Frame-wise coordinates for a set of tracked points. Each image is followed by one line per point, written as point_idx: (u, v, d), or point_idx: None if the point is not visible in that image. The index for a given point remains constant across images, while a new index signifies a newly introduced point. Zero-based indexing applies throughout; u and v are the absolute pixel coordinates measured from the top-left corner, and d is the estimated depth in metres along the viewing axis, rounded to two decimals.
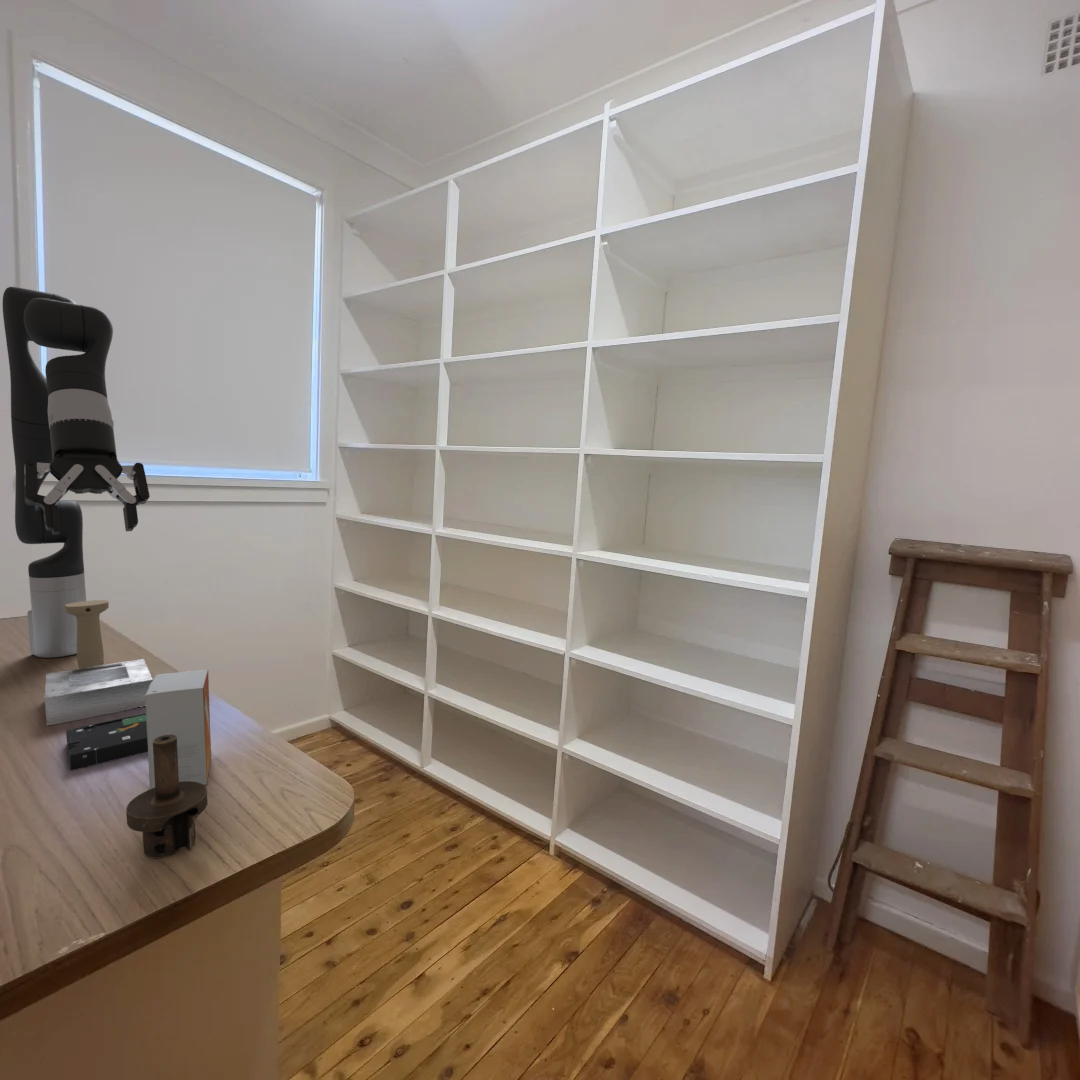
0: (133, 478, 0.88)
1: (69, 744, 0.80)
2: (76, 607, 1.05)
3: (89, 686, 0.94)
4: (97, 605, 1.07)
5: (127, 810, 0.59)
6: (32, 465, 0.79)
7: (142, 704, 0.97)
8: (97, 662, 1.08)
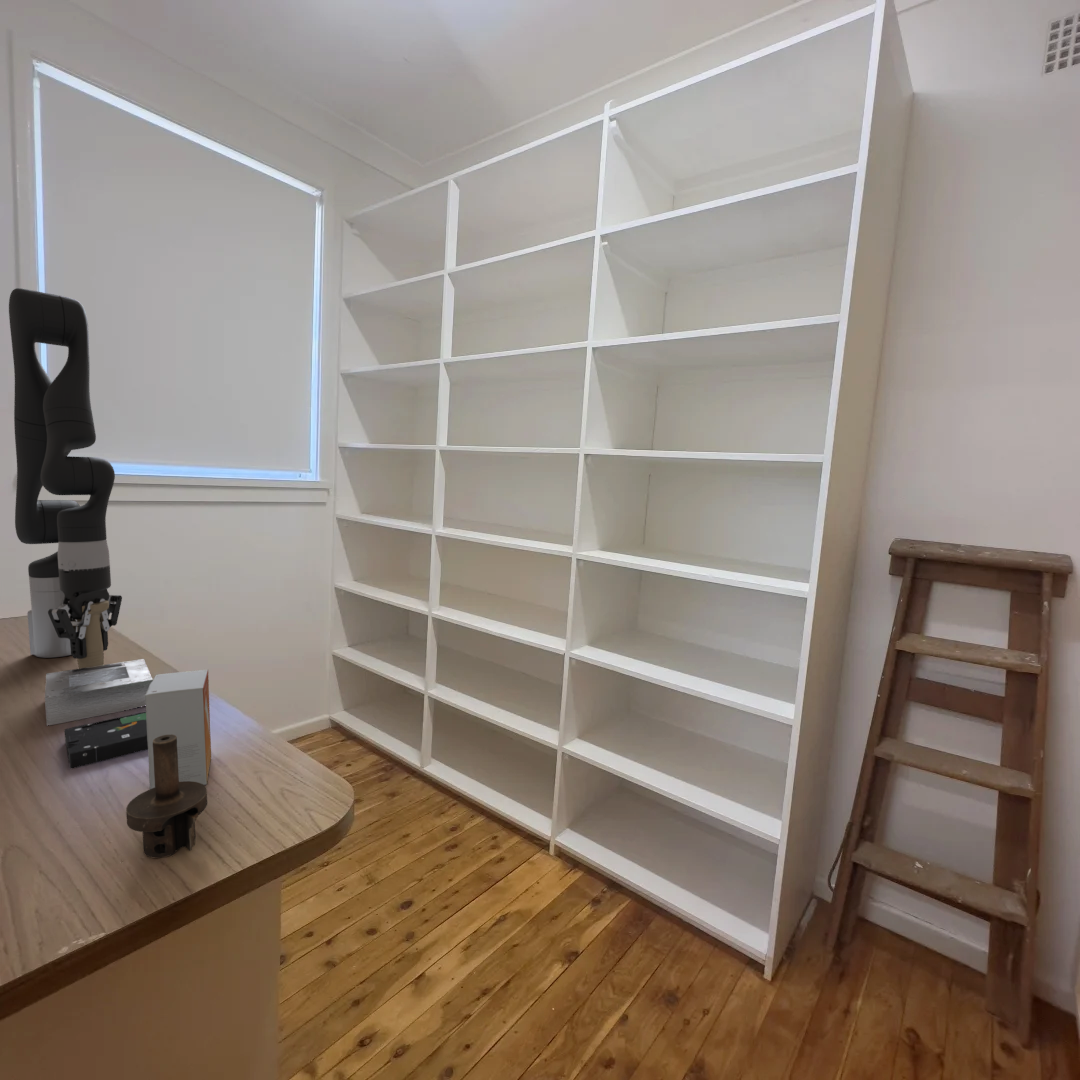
0: (109, 605, 1.12)
1: (68, 743, 0.80)
2: None
3: (89, 686, 0.94)
4: (97, 605, 1.07)
5: (127, 810, 0.59)
6: (65, 613, 1.02)
7: (142, 704, 0.97)
8: (97, 662, 1.08)
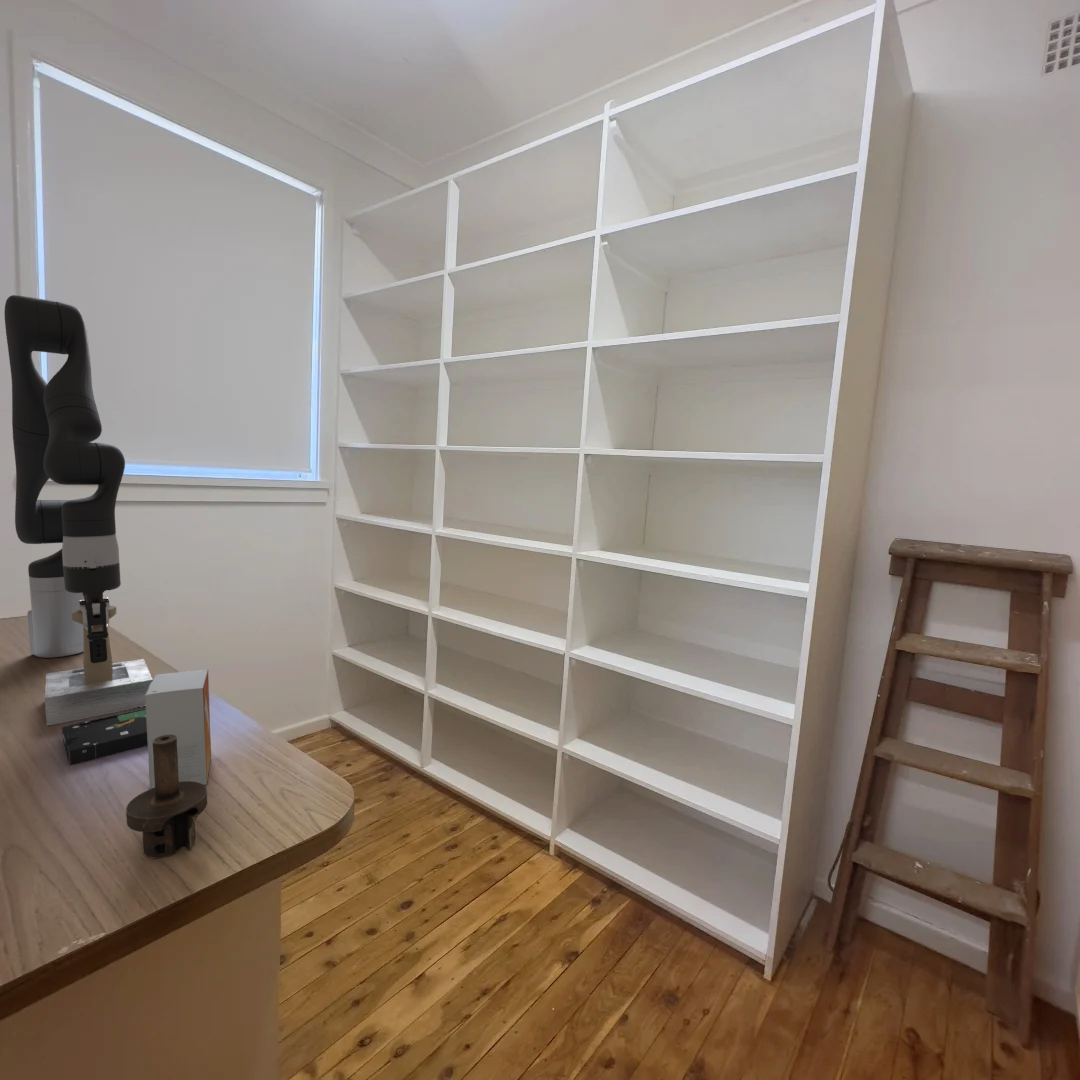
0: None
1: (67, 740, 0.81)
2: None
3: (89, 686, 0.94)
4: (113, 609, 0.99)
5: (127, 810, 0.59)
6: None
7: (142, 704, 0.97)
8: (111, 672, 1.00)
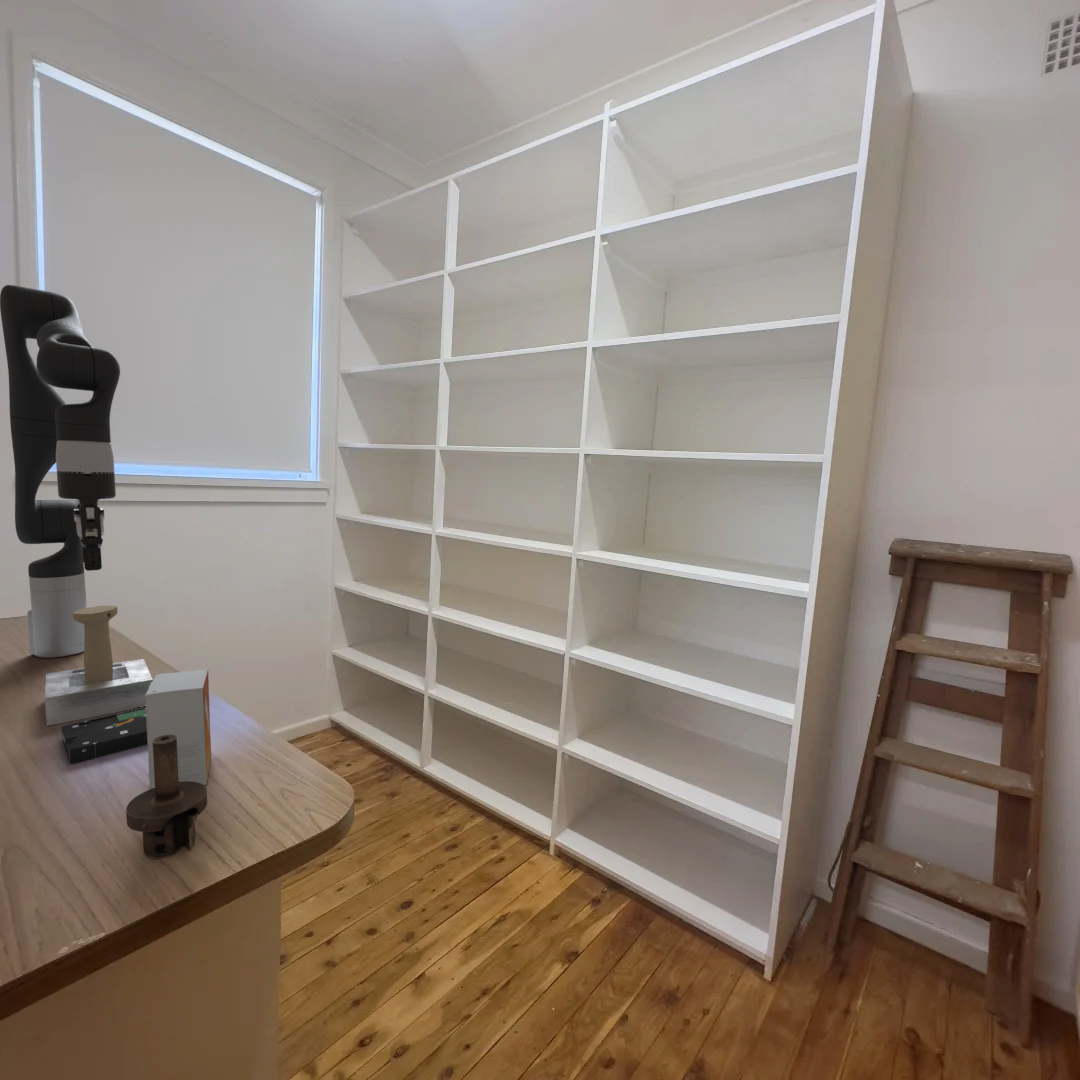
0: None
1: (67, 739, 0.81)
2: (99, 613, 0.96)
3: (89, 686, 0.94)
4: (114, 609, 0.99)
5: (127, 810, 0.59)
6: (100, 512, 0.92)
7: (142, 704, 0.97)
8: (112, 672, 1.00)
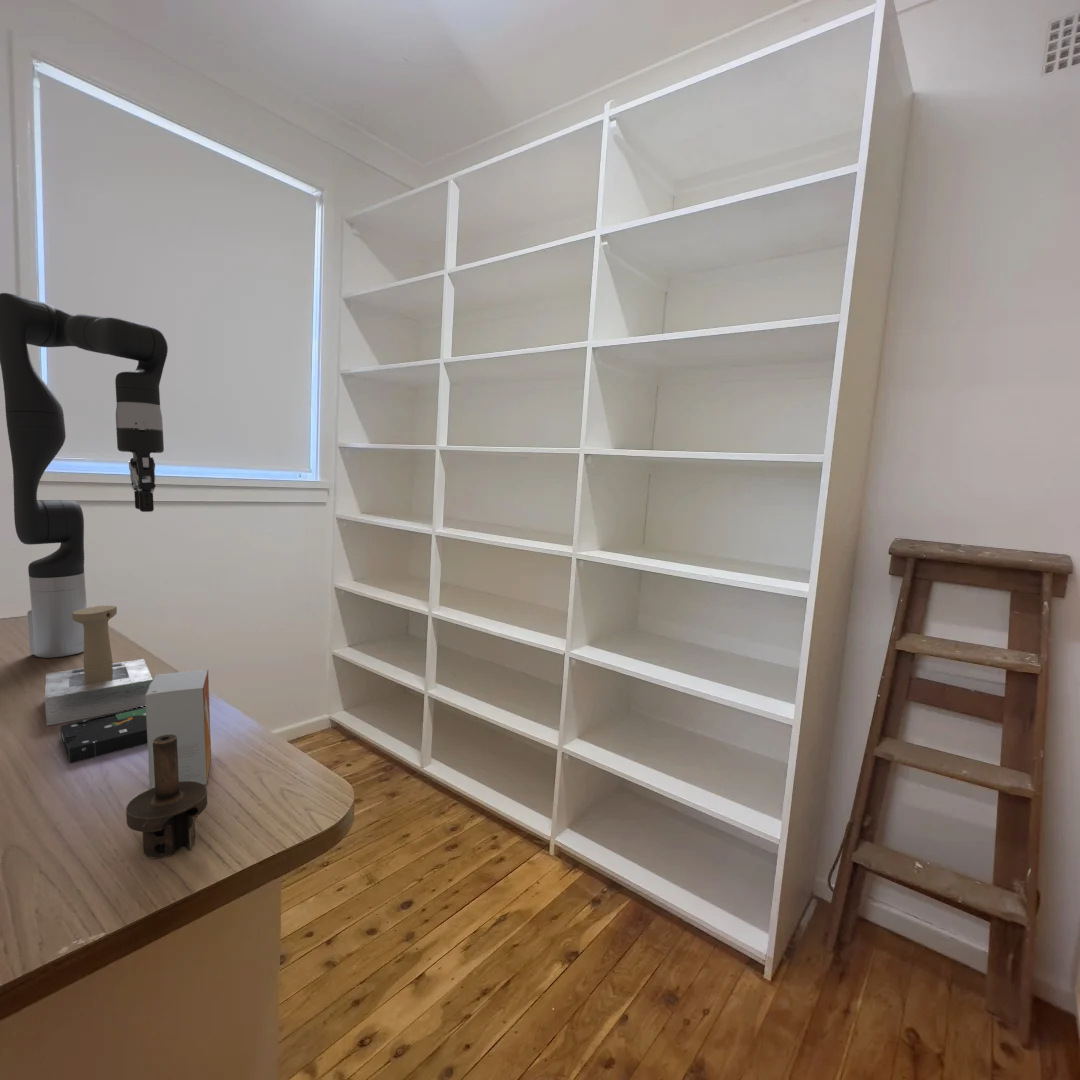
0: None
1: (66, 738, 0.81)
2: (98, 613, 0.96)
3: (89, 686, 0.94)
4: (113, 609, 0.99)
5: (127, 810, 0.59)
6: None
7: (142, 704, 0.97)
8: (111, 672, 1.00)
